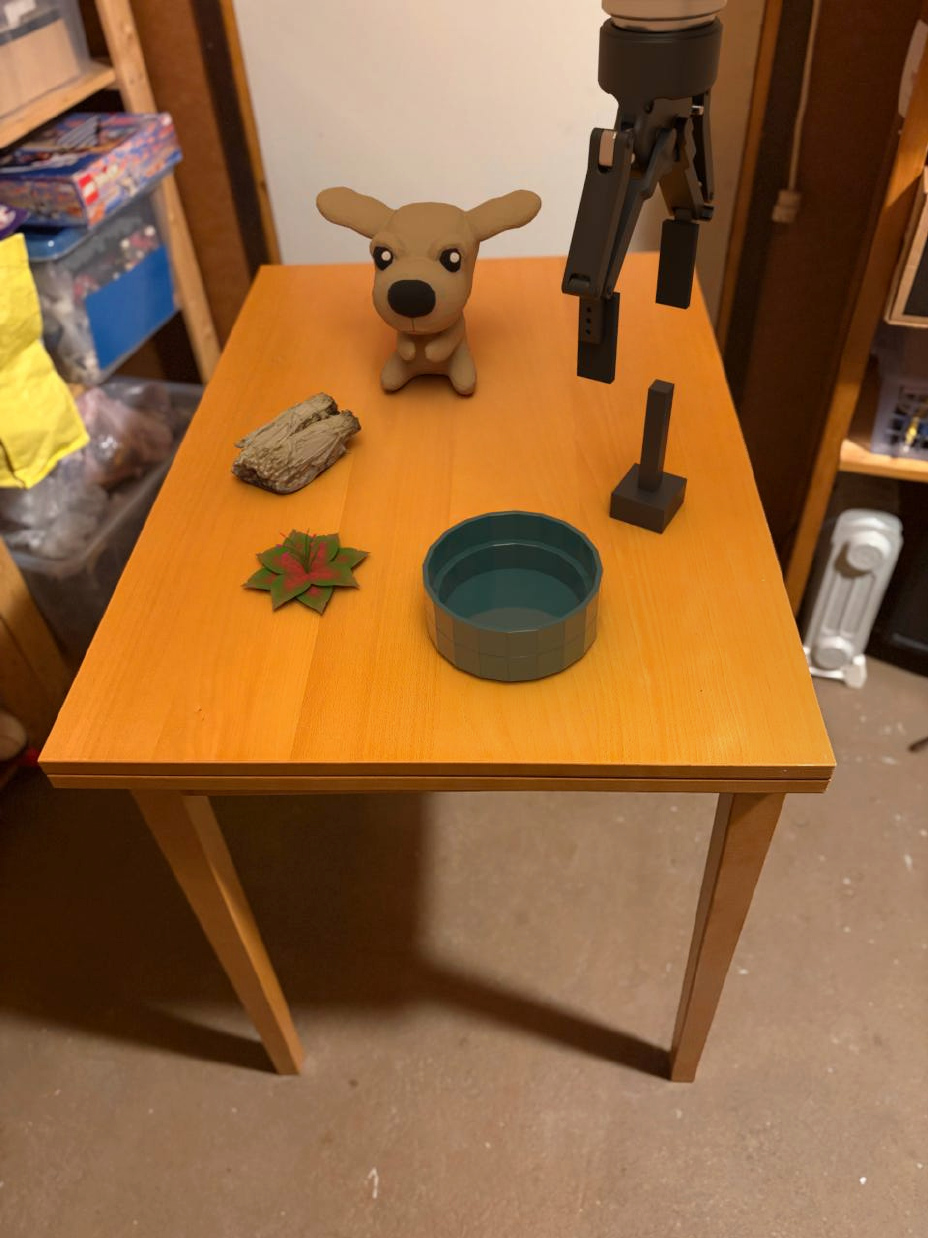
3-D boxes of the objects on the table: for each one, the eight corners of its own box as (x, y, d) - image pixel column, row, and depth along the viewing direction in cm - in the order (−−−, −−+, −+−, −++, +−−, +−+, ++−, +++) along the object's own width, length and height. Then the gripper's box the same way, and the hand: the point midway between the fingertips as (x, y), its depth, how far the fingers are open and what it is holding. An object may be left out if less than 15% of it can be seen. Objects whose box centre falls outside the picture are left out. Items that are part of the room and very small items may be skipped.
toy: (313, 412, 107) (281, 241, 93) (353, 328, 121) (331, 168, 107) (527, 423, 104) (528, 247, 90) (544, 336, 117) (547, 170, 103)
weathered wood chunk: (310, 417, 107) (302, 375, 103) (372, 444, 102) (366, 402, 98) (215, 480, 99) (203, 437, 95) (278, 512, 95) (268, 469, 91)
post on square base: (684, 502, 93) (703, 378, 83) (661, 534, 90) (678, 409, 80) (632, 486, 95) (645, 363, 85) (608, 516, 92) (619, 393, 82)
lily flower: (393, 552, 90) (388, 515, 86) (327, 634, 82) (320, 597, 79) (290, 521, 94) (281, 484, 90) (218, 597, 86) (206, 560, 83)
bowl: (625, 598, 84) (631, 543, 79) (547, 711, 75) (549, 657, 70) (483, 545, 90) (481, 492, 85) (395, 645, 81) (387, 591, 76)
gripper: (685, -25, 66) (658, 270, 80) (504, 58, 51) (511, 400, 66) (790, -20, 63) (742, 286, 77) (628, 70, 48) (607, 427, 62)
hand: (636, 339), depth 71 cm, fingers open, 13 cm apart
